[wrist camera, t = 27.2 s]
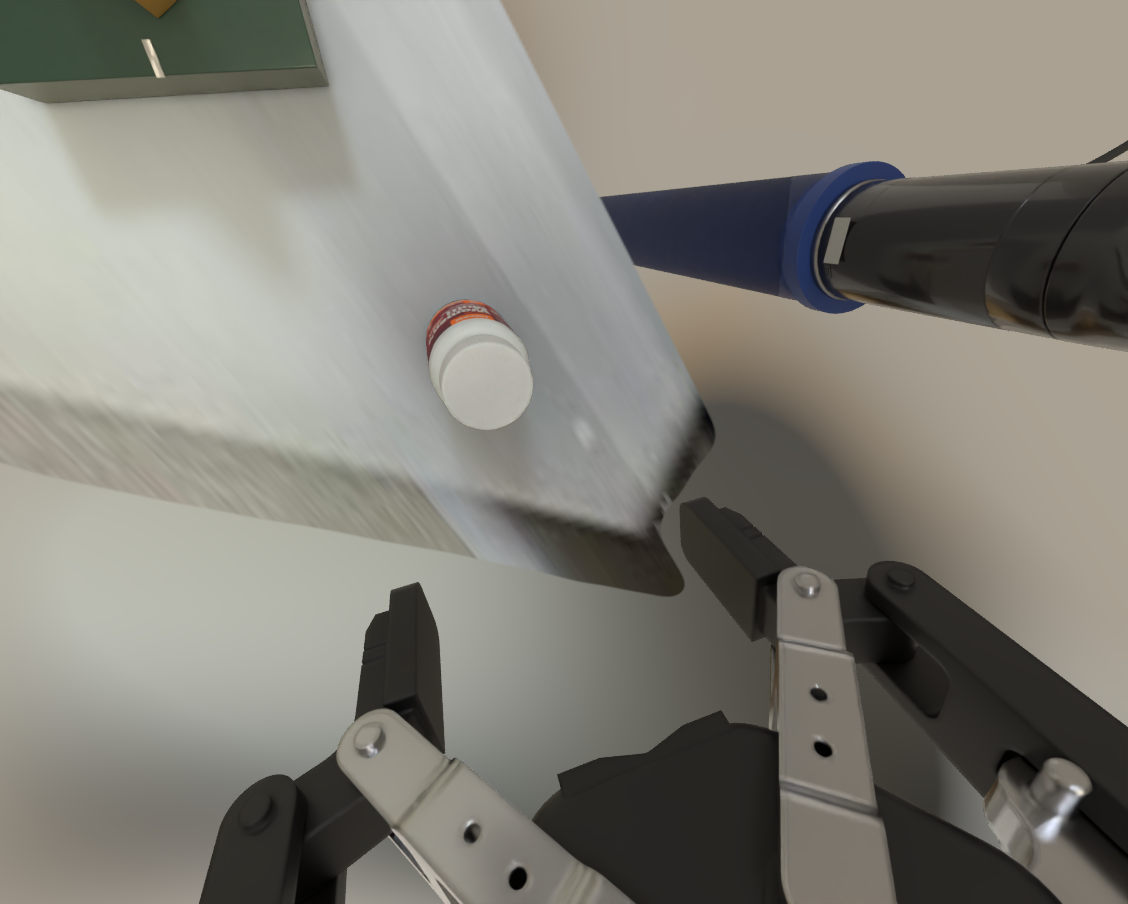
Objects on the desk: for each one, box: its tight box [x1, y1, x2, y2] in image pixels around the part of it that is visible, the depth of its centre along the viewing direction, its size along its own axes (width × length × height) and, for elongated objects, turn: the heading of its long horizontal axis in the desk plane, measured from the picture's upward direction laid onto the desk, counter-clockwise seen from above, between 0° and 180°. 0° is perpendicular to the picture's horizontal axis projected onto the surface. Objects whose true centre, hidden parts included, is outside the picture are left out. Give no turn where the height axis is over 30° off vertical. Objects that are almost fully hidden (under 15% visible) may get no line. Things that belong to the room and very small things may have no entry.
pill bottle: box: [426, 300, 533, 430], centre depth 31 cm, size 6×6×11 cm
